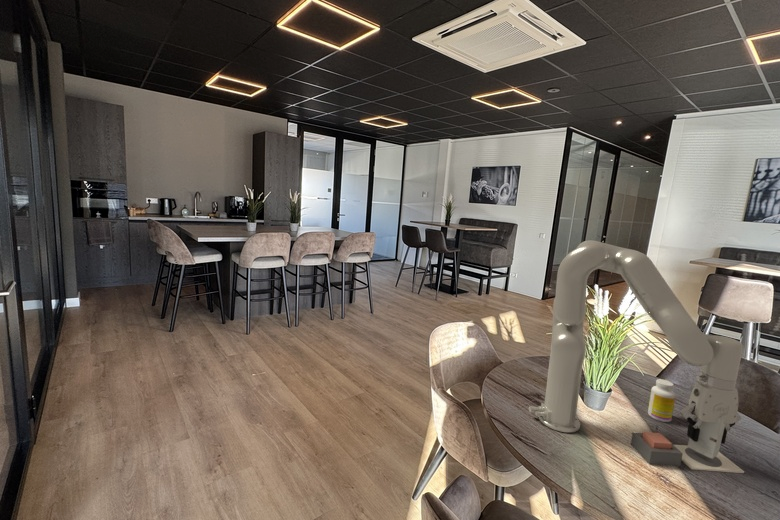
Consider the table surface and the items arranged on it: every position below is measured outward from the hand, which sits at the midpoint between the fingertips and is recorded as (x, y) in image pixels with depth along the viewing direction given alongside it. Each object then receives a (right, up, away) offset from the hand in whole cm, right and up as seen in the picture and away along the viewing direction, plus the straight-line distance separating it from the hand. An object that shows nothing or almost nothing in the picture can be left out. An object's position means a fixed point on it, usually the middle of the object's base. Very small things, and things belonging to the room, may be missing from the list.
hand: (705, 439), depth 102 cm
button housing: (-14, -5, +1) cm, 15 cm away
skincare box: (0, -4, +1) cm, 4 cm away
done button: (-13, -3, +1) cm, 14 cm away
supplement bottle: (+3, -3, +21) cm, 22 cm away
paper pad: (0, -6, +1) cm, 6 cm away
